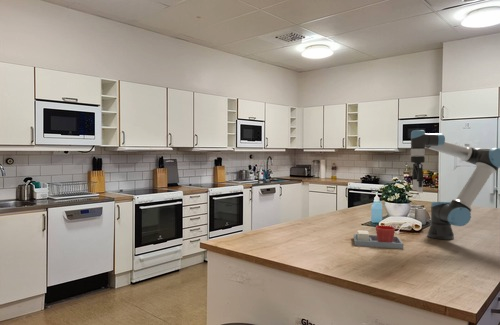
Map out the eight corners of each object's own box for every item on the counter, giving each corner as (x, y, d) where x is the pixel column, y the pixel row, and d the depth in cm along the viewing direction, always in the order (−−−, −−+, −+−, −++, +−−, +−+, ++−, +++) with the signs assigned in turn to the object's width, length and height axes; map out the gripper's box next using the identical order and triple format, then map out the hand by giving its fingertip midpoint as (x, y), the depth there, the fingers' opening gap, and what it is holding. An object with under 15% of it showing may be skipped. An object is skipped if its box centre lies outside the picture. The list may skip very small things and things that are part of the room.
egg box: (357, 239, 223) (357, 230, 223) (367, 240, 222) (367, 230, 221) (358, 243, 213) (358, 233, 213) (368, 244, 212) (369, 234, 212)
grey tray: (353, 239, 227) (353, 233, 227) (398, 242, 221) (398, 236, 221) (354, 246, 210) (354, 240, 210) (403, 250, 204) (403, 243, 204)
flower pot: (399, 245, 212) (399, 228, 211) (384, 246, 207) (384, 229, 207) (385, 240, 221) (386, 224, 221) (371, 242, 217) (371, 226, 217)
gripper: (407, 155, 233) (406, 189, 233) (415, 156, 208) (415, 193, 209) (419, 155, 231) (419, 189, 232) (429, 156, 207) (429, 193, 207)
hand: (417, 191), depth 220 cm, fingers open, 13 cm apart
